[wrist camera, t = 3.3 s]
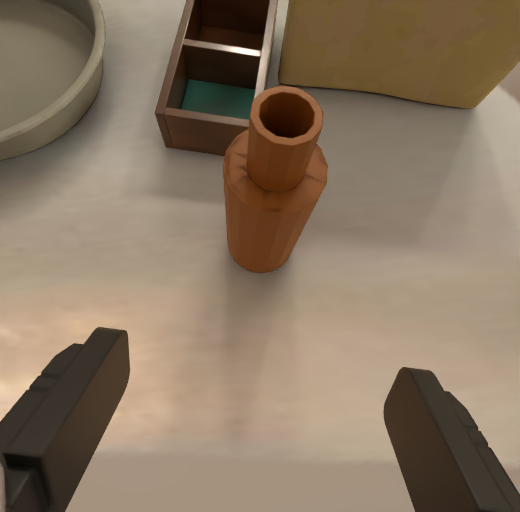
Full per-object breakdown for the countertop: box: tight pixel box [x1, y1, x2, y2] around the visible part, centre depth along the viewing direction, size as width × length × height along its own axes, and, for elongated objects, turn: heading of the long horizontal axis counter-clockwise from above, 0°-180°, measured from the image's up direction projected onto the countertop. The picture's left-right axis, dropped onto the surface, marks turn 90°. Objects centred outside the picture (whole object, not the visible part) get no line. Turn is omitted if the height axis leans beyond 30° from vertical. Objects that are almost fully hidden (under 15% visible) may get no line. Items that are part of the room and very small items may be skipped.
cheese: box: [278, 0, 520, 108], centre depth 29 cm, size 22×10×15 cm, turn 75°
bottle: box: [223, 85, 328, 273], centre depth 22 cm, size 6×6×16 cm
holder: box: [155, 0, 278, 156], centre depth 32 cm, size 9×17×5 cm, turn 173°
